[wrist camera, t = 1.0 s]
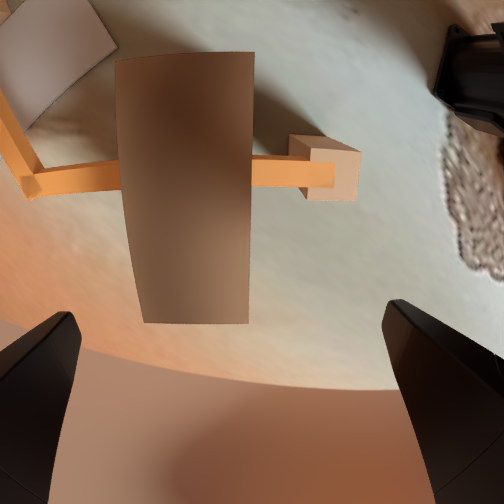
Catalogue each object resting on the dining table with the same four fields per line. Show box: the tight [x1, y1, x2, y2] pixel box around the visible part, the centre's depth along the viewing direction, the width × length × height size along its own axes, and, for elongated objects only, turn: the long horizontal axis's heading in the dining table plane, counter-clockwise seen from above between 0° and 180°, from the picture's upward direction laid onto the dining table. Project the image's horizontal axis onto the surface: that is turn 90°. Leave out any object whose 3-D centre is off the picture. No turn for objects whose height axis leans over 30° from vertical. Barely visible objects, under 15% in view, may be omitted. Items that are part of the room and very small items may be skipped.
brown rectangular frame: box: [115, 52, 255, 324], centre depth 14 cm, size 4×9×10 cm, turn 179°
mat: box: [0, 0, 118, 160], centre depth 14 cm, size 9×13×1 cm
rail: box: [0, 0, 362, 202], centre depth 13 cm, size 13×28×6 cm, turn 74°
